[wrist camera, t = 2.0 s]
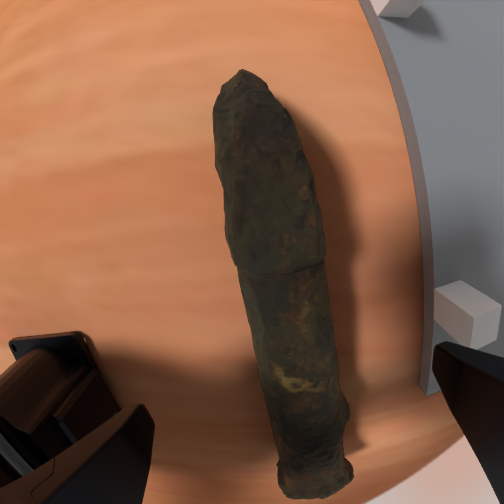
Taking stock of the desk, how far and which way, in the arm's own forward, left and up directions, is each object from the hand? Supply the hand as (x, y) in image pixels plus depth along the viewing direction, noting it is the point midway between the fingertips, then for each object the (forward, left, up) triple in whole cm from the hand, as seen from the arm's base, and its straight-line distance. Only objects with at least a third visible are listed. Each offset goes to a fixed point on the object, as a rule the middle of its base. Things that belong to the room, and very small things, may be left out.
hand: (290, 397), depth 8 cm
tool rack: (+12, +6, -5) cm, 14 cm away
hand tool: (0, 0, -5) cm, 5 cm away
